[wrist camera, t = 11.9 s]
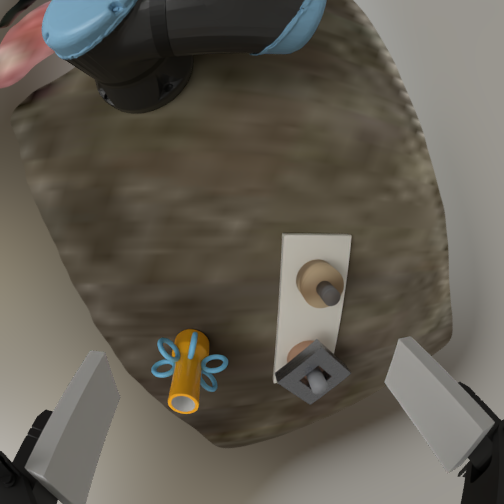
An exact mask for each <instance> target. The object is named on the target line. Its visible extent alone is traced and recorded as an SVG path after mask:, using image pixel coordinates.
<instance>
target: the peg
mask: <svg viewBox="0 0 504 504" xmlns="http://www.w3.org/2000/svg"><path fill="white" fill-rule="evenodd" d="M312 342H314V341H311V340H310V341H303V342H301V343H298V344H297V345H295V346H294V347H293V348H292V349H291V350H290V352H289V353H288V356H287V363H288V362H289V361H291V360H292V359H293V358H294V357H296V356H297V355H298V354H299V353H300V352H302V351H303V350H304V349H305V348H306V347H308V346H309V345H310V344H311V343H312ZM323 371H324V370H323V369H322V368H321V367H320V366H319V365H318V366H317V367H316V368H315V369H313V370H312V371H311V372H310V373H308V374H307V375H306V376H304V378H305V379H307V380H308V382H309V384H310V386H311V389H312V391H313V393H314V394H322V393H324V392H325V391H327V389H328V384H327V382H326V380H325V378H324V376H323V374H322V372H323Z"/></svg>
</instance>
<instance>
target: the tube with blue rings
mask: <svg viewBox="0 0 504 504" xmlns="http://www.w3.org/2000/svg"><path fill="white" fill-rule="evenodd" d="M163 343H167V344H168V345H169V346H170V347H171V348H172V349H173V350H172V356H170V355H169V354H168V353H167V352H166V351H165V349H164V347H163ZM158 349H159V351H160V353H161V354H162V355H163V356H164V357H165V358H166V359H164V360H160V361H158V362H156V363H155V364H154V365H153V366H152V373H153V375H155V376H156V377H168V376H170V375H172V374H173V378H172V383H171V388H170V393H169V398H168V405H169V406H170V408H171V409H173V410H174V411H176V412H178V413H182V414H190V413H193V412H195V411H196V410H197V409H198V407H199V394H200V384H201V385H202V387H203V388H205V389H206V390H208V391H211V392H214V391H216V389H217V382H216V379H215V378H214V376H213V375H212V374H211V373H218V372H221V371H223V370H224V369H225V368H226V367H227V366H228V359H227V358H226V357H225V356H223V355H219V354H214V355H210V356H209V340H208V338H207V337H206V336H205V335H204V334H203V333H202V332H200V331H198V330H195V329H187V330H184V331H181V332H180V333H179V334H178V335H177V336H176V339H175V342H174V343H173V342H172V341H171V340H169V339H167V338H160V339H159V340H158ZM213 359H220V360H222V361H223V364H222V365H221V366H219V367H217V368H208V367H206V364H207V362H208V361H210V360H213ZM163 364H171V365H172V368H171V369H170V370H169V371H167V372H163V373H160V372H157V371H156V369H157V368H158V367H159V366H161V365H163ZM202 373H203V374H205V375H207V376H208V377H209V379H210V380H211V382H212V384H213V387H210V386H209V385H207V384H206V383H205V381H204V380H203V378H202Z"/></svg>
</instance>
